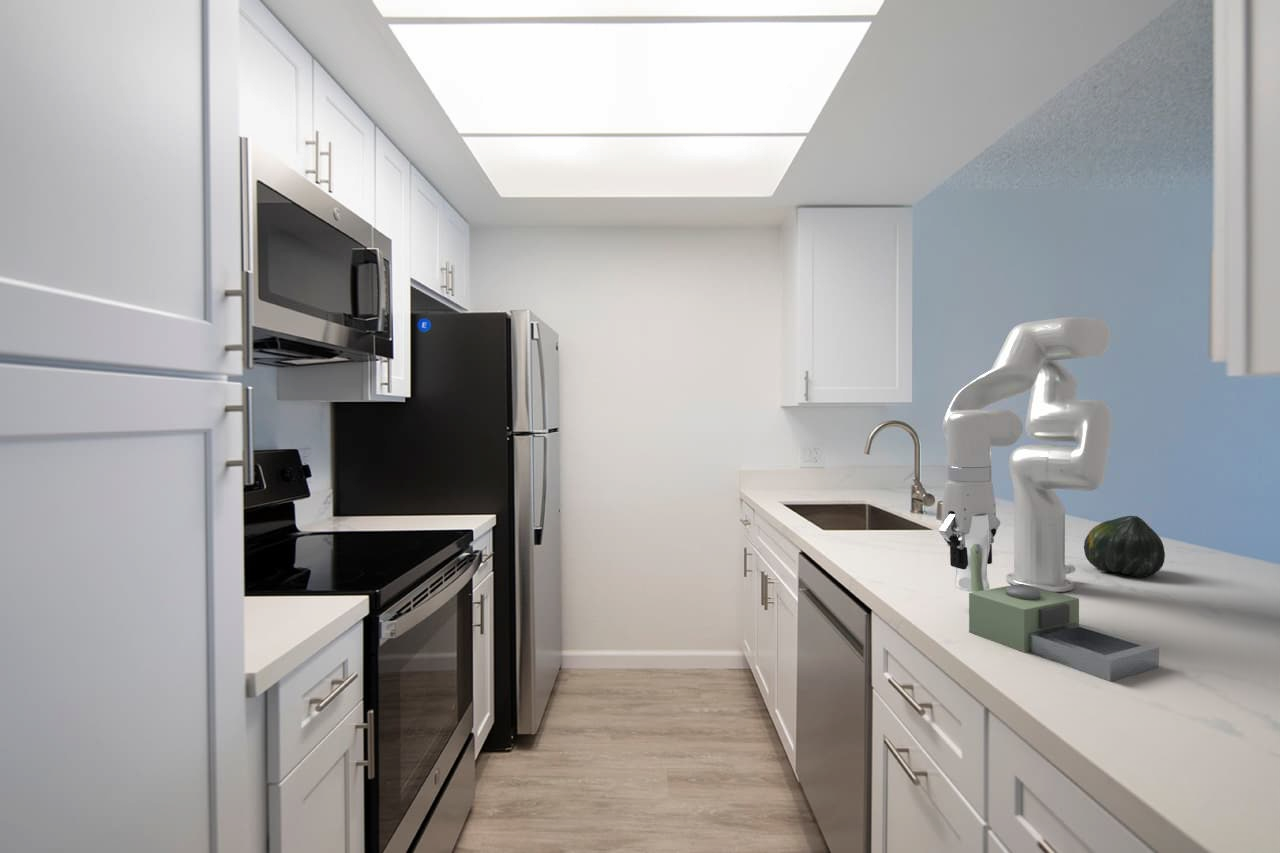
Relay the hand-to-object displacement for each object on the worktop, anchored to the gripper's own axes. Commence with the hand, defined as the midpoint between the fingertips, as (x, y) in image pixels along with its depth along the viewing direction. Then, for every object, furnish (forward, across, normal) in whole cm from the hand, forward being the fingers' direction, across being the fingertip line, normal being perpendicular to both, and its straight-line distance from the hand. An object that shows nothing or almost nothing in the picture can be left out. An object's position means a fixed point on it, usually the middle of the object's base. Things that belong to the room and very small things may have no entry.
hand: (971, 564), depth 118 cm
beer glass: (+5, 0, 0) cm, 5 cm away
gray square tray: (+9, +4, +24) cm, 26 cm away
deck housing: (+9, +4, +13) cm, 17 cm away
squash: (+12, -57, -4) cm, 58 cm away
